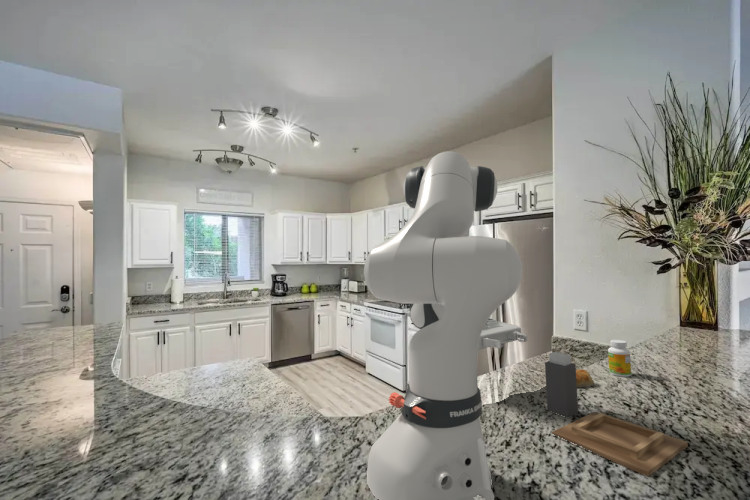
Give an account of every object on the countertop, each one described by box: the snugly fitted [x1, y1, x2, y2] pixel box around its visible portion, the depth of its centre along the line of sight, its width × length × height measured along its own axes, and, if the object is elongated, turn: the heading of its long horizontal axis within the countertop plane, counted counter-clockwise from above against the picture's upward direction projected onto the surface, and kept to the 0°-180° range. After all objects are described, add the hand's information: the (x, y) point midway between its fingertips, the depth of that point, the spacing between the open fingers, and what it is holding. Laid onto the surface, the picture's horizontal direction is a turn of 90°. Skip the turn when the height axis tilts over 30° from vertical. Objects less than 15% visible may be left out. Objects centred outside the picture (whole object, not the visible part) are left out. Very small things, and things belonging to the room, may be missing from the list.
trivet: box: [551, 411, 689, 477], centre depth 66 cm, size 16×16×2 cm
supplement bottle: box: [607, 339, 632, 378], centre depth 104 cm, size 5×5×10 cm
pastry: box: [576, 368, 594, 389], centre depth 97 cm, size 9×7×4 cm
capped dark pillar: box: [544, 351, 579, 418], centre depth 80 cm, size 4×5×13 cm
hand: (514, 341), depth 91 cm, fingers open, 8 cm apart
